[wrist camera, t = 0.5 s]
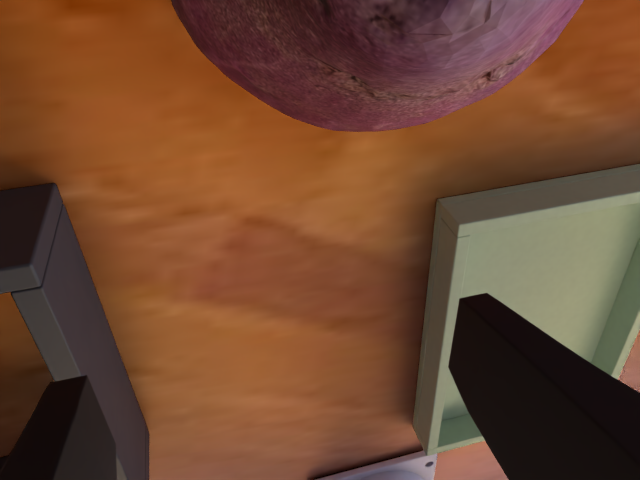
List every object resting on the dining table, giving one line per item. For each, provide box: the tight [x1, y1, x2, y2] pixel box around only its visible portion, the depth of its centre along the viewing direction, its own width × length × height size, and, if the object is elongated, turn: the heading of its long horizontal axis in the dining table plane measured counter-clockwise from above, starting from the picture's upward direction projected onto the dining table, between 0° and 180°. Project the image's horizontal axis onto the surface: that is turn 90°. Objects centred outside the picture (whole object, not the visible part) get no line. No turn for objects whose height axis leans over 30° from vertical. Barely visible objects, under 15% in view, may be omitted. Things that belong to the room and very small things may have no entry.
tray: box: [413, 164, 640, 456], centre depth 26 cm, size 15×11×2 cm
